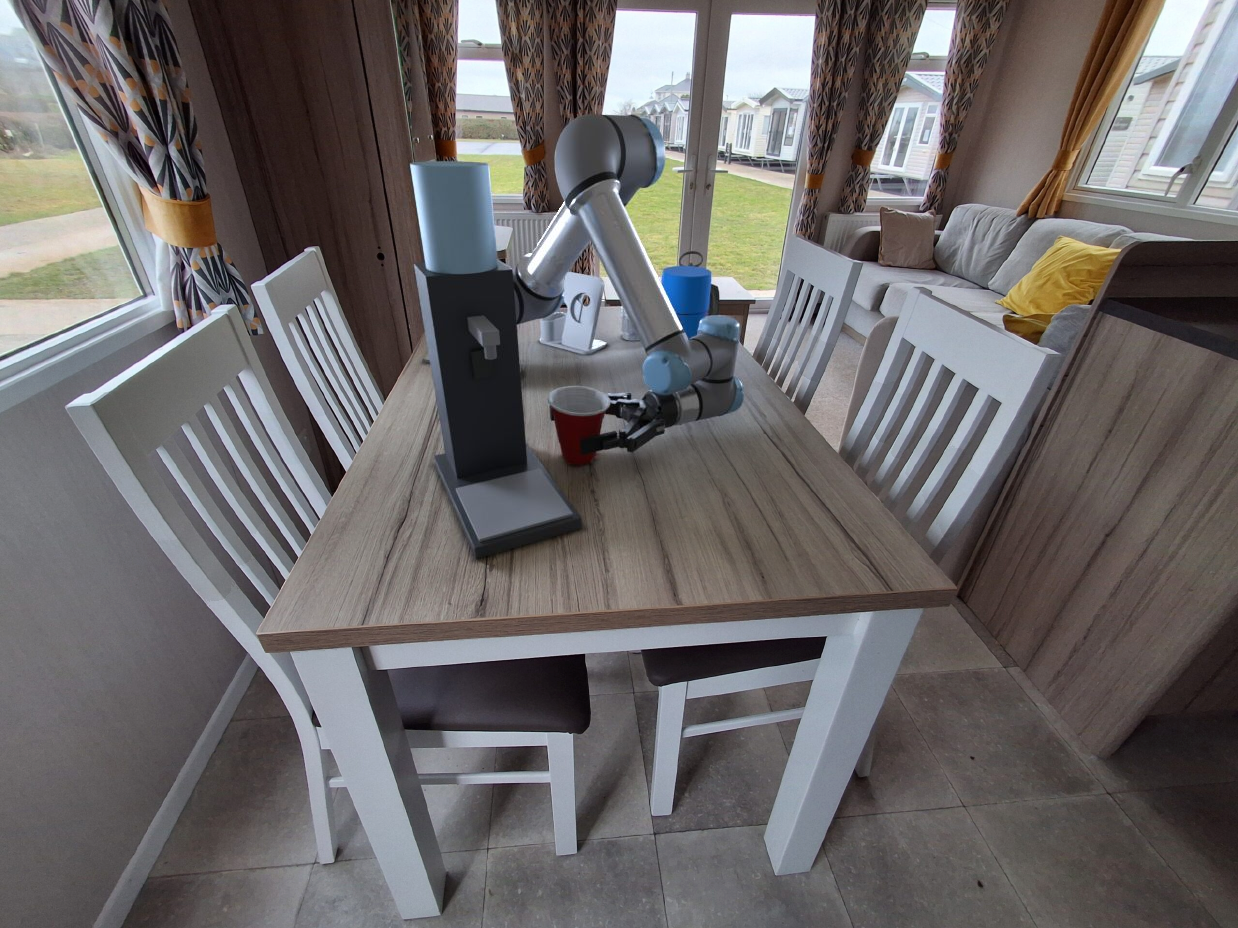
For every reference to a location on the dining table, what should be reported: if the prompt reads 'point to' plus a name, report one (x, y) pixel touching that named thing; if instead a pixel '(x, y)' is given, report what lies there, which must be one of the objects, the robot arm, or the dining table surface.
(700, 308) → the thermos
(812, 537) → the dining table surface
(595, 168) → the robot arm
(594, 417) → the plastic cup
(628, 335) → the silver ribbed cylinder
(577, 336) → the phone holder
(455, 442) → the water dispenser
